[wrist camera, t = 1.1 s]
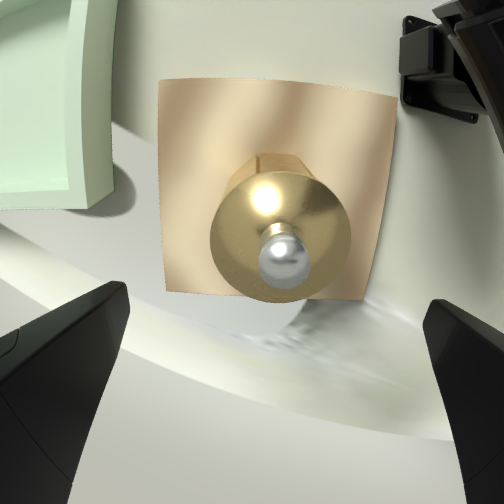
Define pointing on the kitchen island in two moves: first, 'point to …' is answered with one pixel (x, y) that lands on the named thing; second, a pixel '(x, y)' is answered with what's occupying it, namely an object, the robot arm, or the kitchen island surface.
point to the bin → (55, 103)
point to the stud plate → (253, 142)
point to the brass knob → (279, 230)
